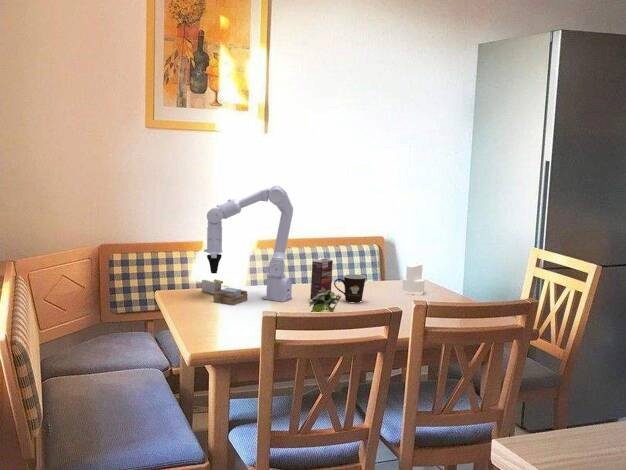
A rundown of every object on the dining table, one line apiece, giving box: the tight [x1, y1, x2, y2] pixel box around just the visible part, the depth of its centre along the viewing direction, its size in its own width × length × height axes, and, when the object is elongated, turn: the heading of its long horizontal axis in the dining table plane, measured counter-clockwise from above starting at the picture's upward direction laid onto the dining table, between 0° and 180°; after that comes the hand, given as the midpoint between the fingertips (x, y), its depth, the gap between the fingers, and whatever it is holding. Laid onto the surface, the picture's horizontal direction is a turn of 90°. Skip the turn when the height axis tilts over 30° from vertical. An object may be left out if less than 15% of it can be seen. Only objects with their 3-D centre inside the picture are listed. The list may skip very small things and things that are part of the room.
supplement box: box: [309, 258, 334, 300], centre depth 270 cm, size 9×5×16 cm, turn 148°
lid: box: [221, 287, 242, 296], centre depth 263 cm, size 6×5×2 cm
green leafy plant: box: [308, 289, 342, 313], centre depth 248 cm, size 11×11×12 cm
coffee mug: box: [333, 273, 366, 303], centre depth 271 cm, size 12×9×10 cm
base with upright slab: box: [402, 263, 425, 292], centre depth 290 cm, size 9×9×12 cm
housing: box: [212, 289, 249, 306], centre depth 263 cm, size 9×10×4 cm
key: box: [201, 279, 224, 295], centre depth 273 cm, size 11×2×6 cm, turn 50°
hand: (213, 273), depth 268 cm, fingers closed
